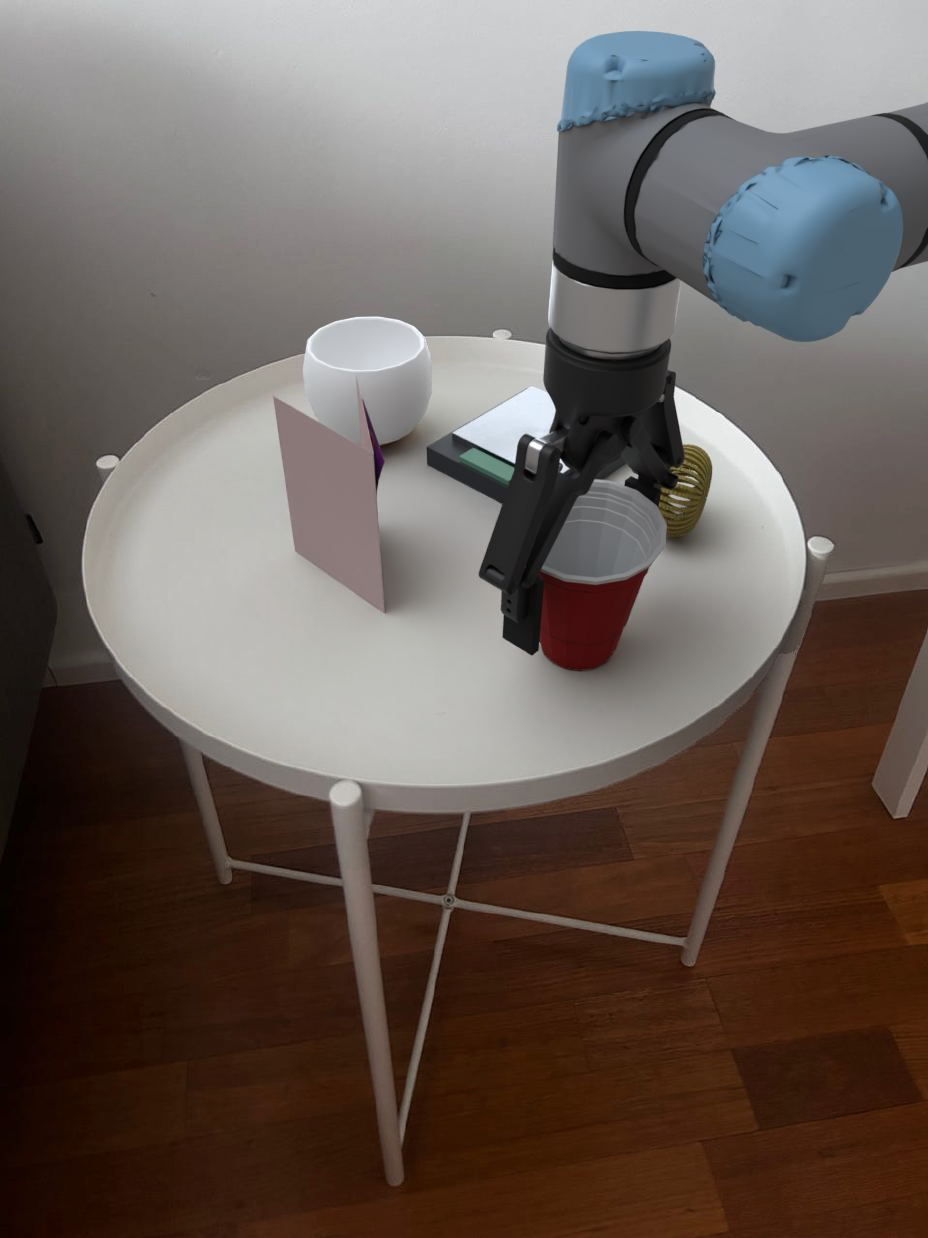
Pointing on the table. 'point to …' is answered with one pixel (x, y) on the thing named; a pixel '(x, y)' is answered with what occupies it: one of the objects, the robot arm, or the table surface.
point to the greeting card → (334, 498)
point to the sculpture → (687, 492)
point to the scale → (498, 444)
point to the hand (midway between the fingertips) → (579, 597)
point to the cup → (368, 376)
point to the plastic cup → (597, 573)
